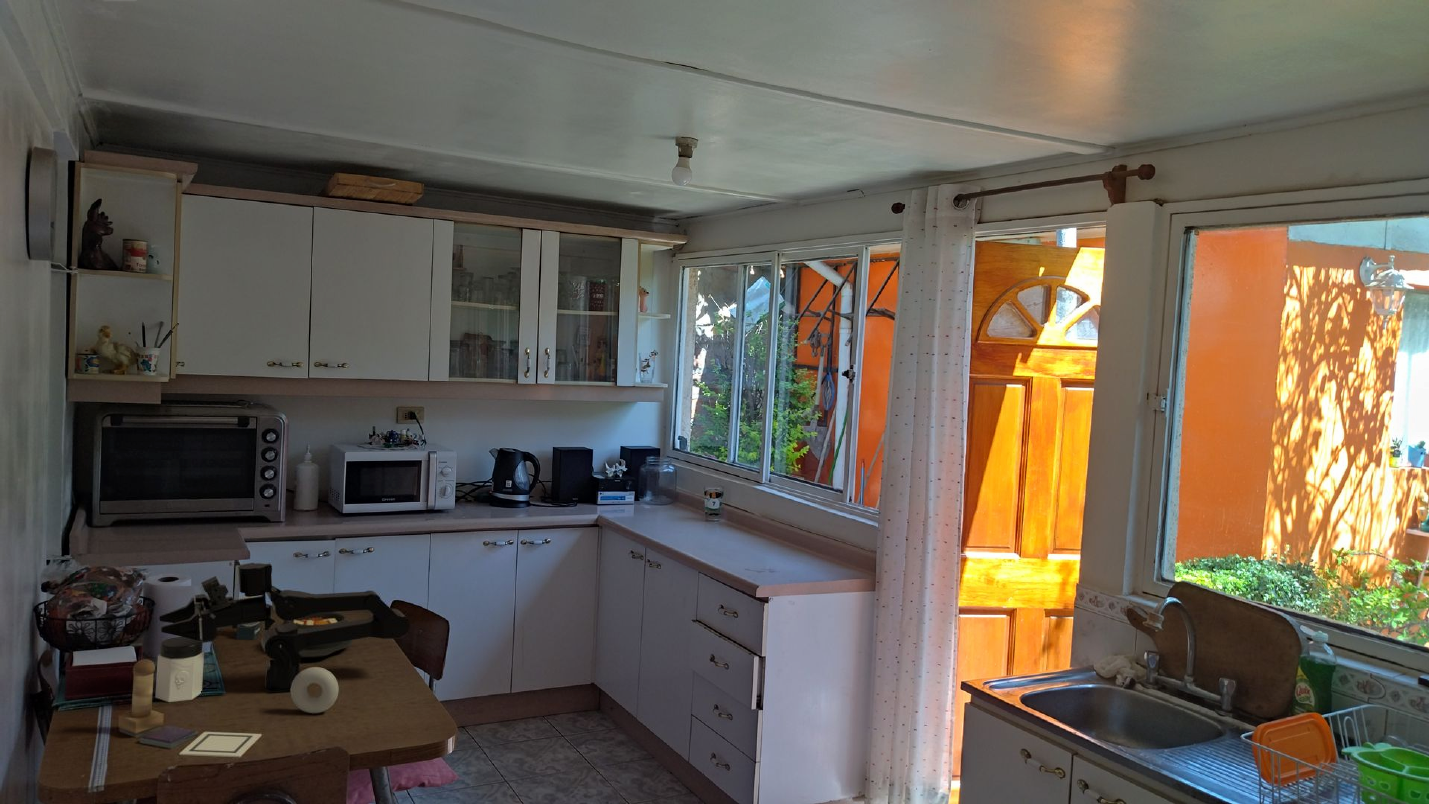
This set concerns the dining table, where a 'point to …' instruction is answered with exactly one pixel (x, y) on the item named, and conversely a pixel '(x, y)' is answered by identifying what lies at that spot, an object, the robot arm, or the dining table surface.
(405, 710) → the dining table surface
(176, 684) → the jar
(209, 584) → the robot arm
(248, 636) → the watch
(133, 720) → the stamp
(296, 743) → the dining table surface
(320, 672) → the donut
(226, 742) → the print card
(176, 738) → the ink pad
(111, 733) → the dining table surface
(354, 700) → the dining table surface
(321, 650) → the casserole
